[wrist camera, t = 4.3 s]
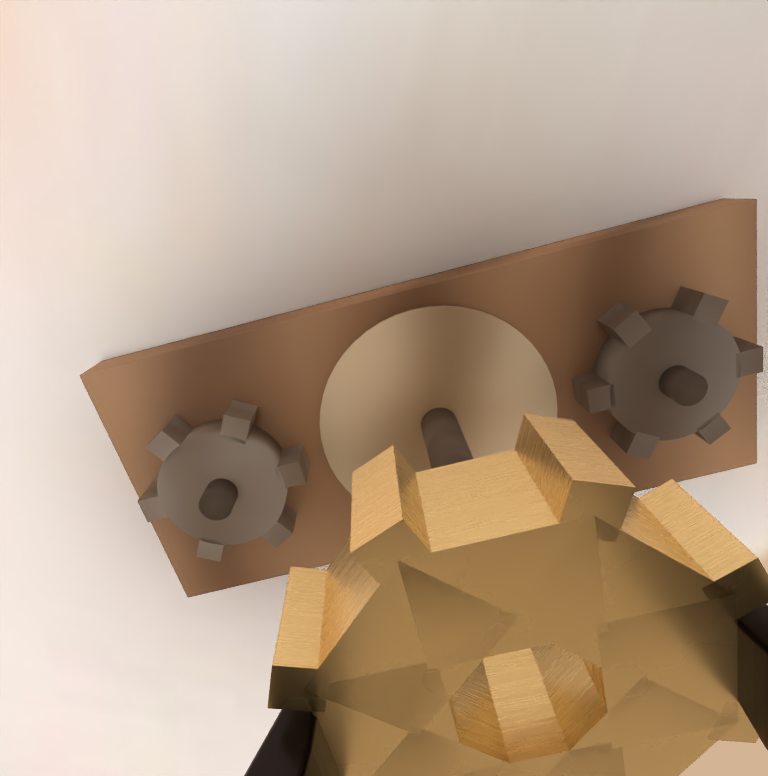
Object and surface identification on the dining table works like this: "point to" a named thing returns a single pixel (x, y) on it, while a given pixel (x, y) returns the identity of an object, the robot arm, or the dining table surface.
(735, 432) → the gear board
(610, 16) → the dining table surface
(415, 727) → the wooden gear
